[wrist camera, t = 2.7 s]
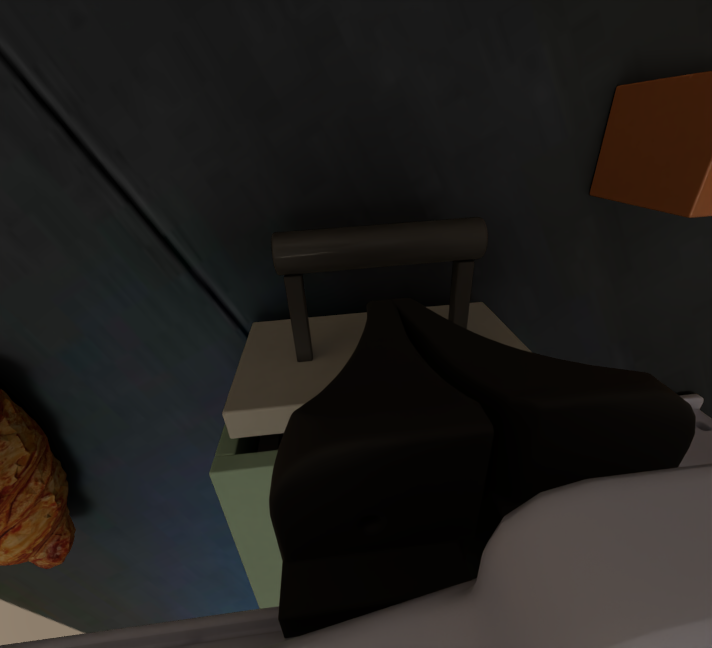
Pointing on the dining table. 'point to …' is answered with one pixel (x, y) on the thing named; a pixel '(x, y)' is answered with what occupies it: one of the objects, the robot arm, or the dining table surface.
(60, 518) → the croissant
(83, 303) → the dining table surface
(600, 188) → the rust orange cube
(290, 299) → the cream drawer
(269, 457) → the green drawer box
